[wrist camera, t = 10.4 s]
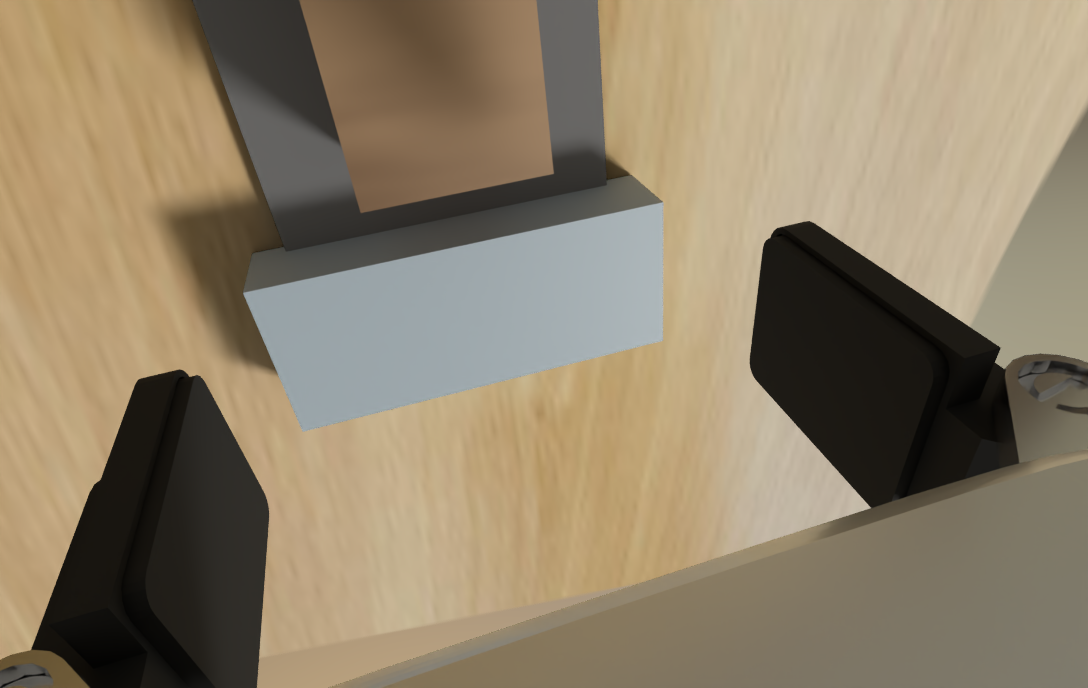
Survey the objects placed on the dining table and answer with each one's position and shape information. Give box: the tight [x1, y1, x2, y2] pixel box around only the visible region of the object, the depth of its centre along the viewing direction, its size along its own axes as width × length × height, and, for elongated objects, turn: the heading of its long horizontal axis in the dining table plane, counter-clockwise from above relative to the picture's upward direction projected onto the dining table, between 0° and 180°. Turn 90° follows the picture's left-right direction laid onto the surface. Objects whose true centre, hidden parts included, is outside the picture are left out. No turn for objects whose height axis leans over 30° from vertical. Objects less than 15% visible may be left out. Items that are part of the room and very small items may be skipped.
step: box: [243, 175, 663, 431], centre depth 21 cm, size 5×12×2 cm, turn 95°
